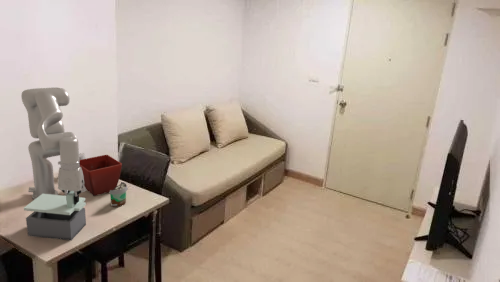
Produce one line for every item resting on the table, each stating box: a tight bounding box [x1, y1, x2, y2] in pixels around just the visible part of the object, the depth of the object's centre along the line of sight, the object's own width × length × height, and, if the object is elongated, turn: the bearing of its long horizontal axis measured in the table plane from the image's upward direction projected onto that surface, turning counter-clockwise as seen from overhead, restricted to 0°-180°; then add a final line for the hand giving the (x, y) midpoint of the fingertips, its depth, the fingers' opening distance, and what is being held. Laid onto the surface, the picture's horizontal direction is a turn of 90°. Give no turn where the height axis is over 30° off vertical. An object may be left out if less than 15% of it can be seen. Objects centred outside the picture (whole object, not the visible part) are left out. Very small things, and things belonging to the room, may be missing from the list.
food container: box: [108, 181, 129, 208], centre depth 210 cm, size 12×6×10 cm, turn 168°
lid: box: [23, 191, 87, 215], centre depth 178 cm, size 23×15×8 cm, turn 86°
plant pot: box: [79, 154, 123, 197], centre depth 223 cm, size 19×19×17 cm
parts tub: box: [25, 207, 87, 241], centre depth 182 cm, size 20×14×9 cm
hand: (73, 202), depth 178 cm, fingers closed on lid
